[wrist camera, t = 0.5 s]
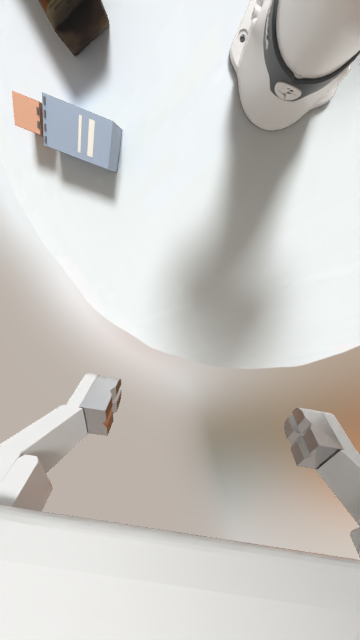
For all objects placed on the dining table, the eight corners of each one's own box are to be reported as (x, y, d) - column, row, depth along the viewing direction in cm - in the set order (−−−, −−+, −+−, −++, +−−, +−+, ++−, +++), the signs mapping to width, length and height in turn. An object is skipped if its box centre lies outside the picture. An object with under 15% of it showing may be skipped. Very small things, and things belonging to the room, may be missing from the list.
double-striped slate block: (59, 104, 37) (41, 91, 33) (122, 129, 39) (112, 120, 34) (59, 150, 41) (43, 144, 37) (117, 172, 42) (107, 169, 38)
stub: (32, 102, 37) (11, 90, 33) (55, 111, 38) (38, 101, 34) (33, 132, 40) (14, 124, 35) (56, 141, 40) (39, 134, 36)
